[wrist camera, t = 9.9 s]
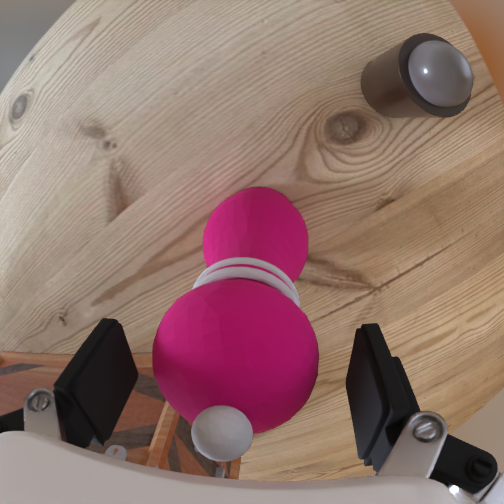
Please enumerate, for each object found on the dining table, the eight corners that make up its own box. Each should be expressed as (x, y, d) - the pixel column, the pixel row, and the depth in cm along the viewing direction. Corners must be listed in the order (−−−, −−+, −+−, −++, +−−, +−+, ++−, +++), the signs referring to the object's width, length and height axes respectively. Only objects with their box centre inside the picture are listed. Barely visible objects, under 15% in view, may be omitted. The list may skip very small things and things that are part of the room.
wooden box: (-2, 349, 37) (-61, 420, 19) (197, 346, 31) (141, 523, 12) (55, 425, 45) (18, 494, 26) (245, 444, 38) (230, 564, 20)
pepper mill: (237, 274, 27) (182, 499, 9) (201, 200, 25) (47, 385, 6) (315, 246, 25) (369, 479, 7) (283, 166, 23) (310, 328, 5)
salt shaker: (358, 53, 19) (409, 13, 9) (416, 62, 18) (488, 38, 9) (361, 114, 21) (418, 109, 11) (419, 121, 20) (495, 126, 11)
